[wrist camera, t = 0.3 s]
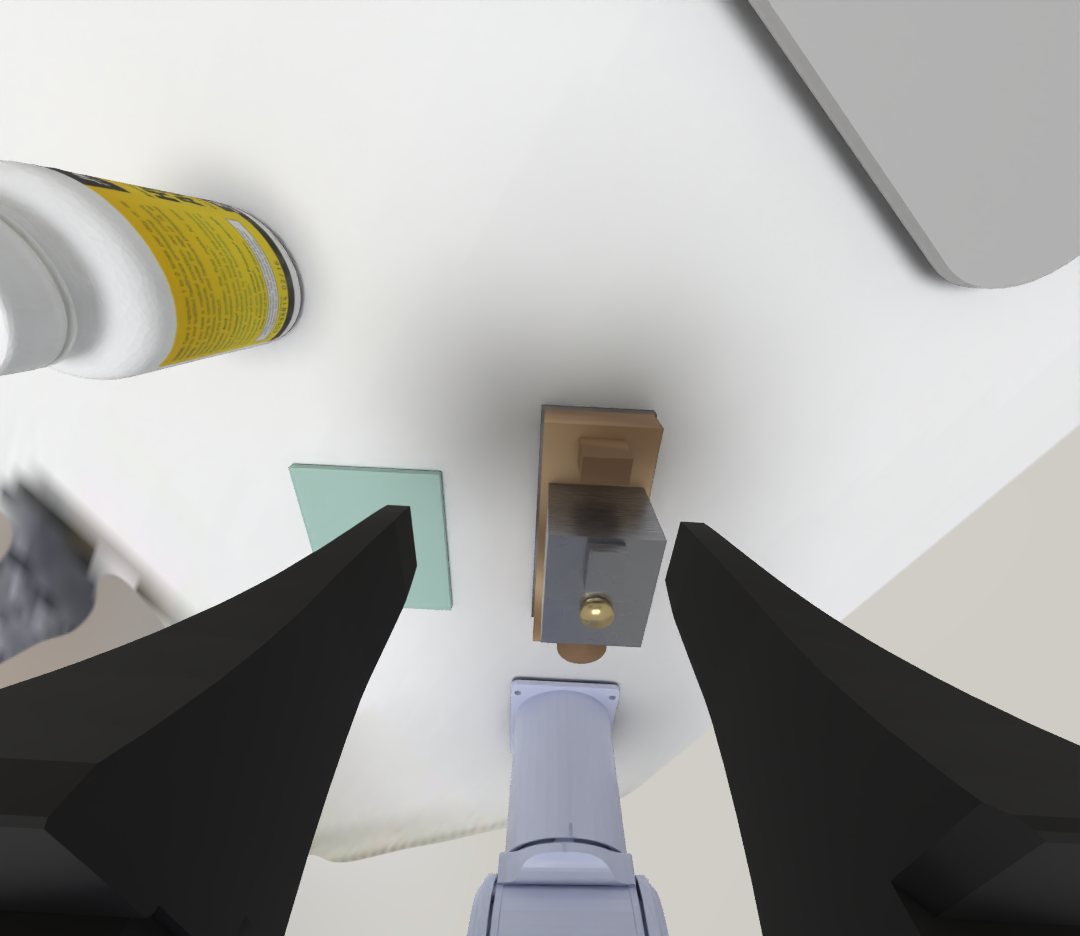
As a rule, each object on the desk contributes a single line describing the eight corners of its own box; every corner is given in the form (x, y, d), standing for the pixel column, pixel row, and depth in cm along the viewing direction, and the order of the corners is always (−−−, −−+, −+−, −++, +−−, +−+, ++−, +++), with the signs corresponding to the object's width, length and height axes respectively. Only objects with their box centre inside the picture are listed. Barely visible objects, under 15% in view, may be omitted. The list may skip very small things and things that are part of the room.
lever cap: (625, 582, 21) (643, 659, 17) (542, 578, 21) (540, 654, 17) (644, 487, 18) (671, 551, 14) (548, 482, 18) (547, 544, 14)
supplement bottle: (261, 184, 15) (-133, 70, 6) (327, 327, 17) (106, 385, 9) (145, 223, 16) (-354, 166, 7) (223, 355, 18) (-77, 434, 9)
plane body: (615, 613, 25) (627, 676, 21) (531, 609, 25) (528, 671, 21) (653, 410, 19) (680, 447, 15) (542, 405, 19) (540, 440, 15)
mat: (452, 605, 25) (450, 610, 25) (330, 599, 25) (327, 604, 25) (441, 471, 21) (439, 474, 20) (292, 463, 21) (288, 467, 20)
